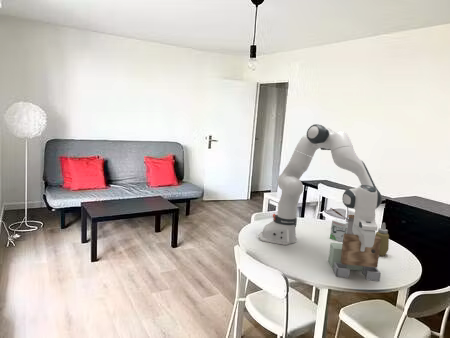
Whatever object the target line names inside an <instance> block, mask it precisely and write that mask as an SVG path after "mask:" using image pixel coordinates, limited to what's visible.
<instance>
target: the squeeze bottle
mask: <svg viewBox="0 0 450 338" xmlns="http://www.w3.org/2000/svg"><path fill="white" fill-rule="evenodd" d="M386 227H387V225H386V222H382V225H381V227H379V228H377V231H375V236H378V237H380V238H381V244H380V251H379V257H380V256H381V257H385V256H386V254H388V252H389V245H390V243H389V241H390V234H389V233H388V232H389V230H388V229H386Z"/></svg>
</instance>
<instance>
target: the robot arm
mask: <svg viewBox="0 0 450 338" xmlns="http://www.w3.org/2000/svg"><path fill="white" fill-rule="evenodd" d="M351 140H352V139H350V137H349V135H348V133H347V132H346V131H342V130H341V131H340V130H339V131H334V130H332V129H331V128H330V127H329V128H328V127H326V126H324V125H322V124H318V123H317V124H312V125H311V126H310V127H308V128H307V131H306V134H304V135H303V136H302V137H301V138H300V139H299V140H298V143H297V145H296V146H295V147H294V150H293V152H292V155H291V157H290V160H289V161H288V163H287V165H286V167H285V168H284V169H283V170H282V172H281V174H280V175H279V176H278V178H277V186H278V188H279V189H280V190H281V194H280V199H279V201H278V205H277V214H276V213H272V221H271V222H268V223H266V224H265V226H264V227H263V229H262V231H260V232H259V233H258V239H259V240H260V241H261V242H266V243H272V244H278V245H284V246H288V245H290V244H294V243H296V242H297V233H296V230H297V229H296V227H297V223H298V218H297V213H298V205H299V200H300V198H301V195H302V193H304V185H303V182H302V181H301V180H300V179H301V177H302V176H303V174H305V172H307V171H308V169H309V166H310V164H311V162H312V160H313V157H314V156H315V153H316V151H317V150H318V149H320V150H321V151H330V153H331V158H332V161H333V163H334V164H335V165H336V166H337V167H339V168H340V169H343V170H346V171H348V172H351V173H353V174H354V175H355V176H357V178H358V180H359V183H360V185H359V186H358V187H355V188H348V189H345V191H344V192H343V194H342V203H343V205H344V206H345V207H346V208H347V209H353V210H354V214H353V215H354V222H353V228H352V232H353V233H354V234H355V235H358V237H359V241H360V242H361V247H360V251H362V252H364V251H365V247H370V248H371V247H373V245H374V240H375V235H376V232H378V224H377V222H376V209H378V208H379V207H380V206H381V204H382V202H383V197H382V194H381V192H380V191H379V190H378V188H377V186H376V185H375V182H374V180H373V179H372V176H371V174H370V172H369V170H368V168H367V165H366V164H365V162H364V161H363V160H362V159H360V158H359V156H358V154H357V153H356V152H355V149H354V146H353V143H352V141H351Z"/></svg>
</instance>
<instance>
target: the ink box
mask: <svg viewBox="0 0 450 338" xmlns="http://www.w3.org/2000/svg"><path fill="white" fill-rule="evenodd" d="M347 229H348V222H347V220H343V219H342V220H341V219H338V218H335V219H332V220H331V227H330V236H329V238H330V239H331V240H334V241H338V242H339V243H343V236H344V234H347Z"/></svg>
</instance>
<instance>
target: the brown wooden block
mask: <svg viewBox="0 0 450 338" xmlns="http://www.w3.org/2000/svg"><path fill="white" fill-rule="evenodd" d="M342 244H343V245H342V253H341V263H342V264H345V265H356V266H367V267H377V268H378V264H379V257H380V255H379V251H380V244H381V238H380V237H378V236H375V240H374V245H373V247H371V248H370V247H365V251H364V252H362V251H360V247H361V242H360V241H359V237H358V235H354V234H344V236H343V242H342Z"/></svg>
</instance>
